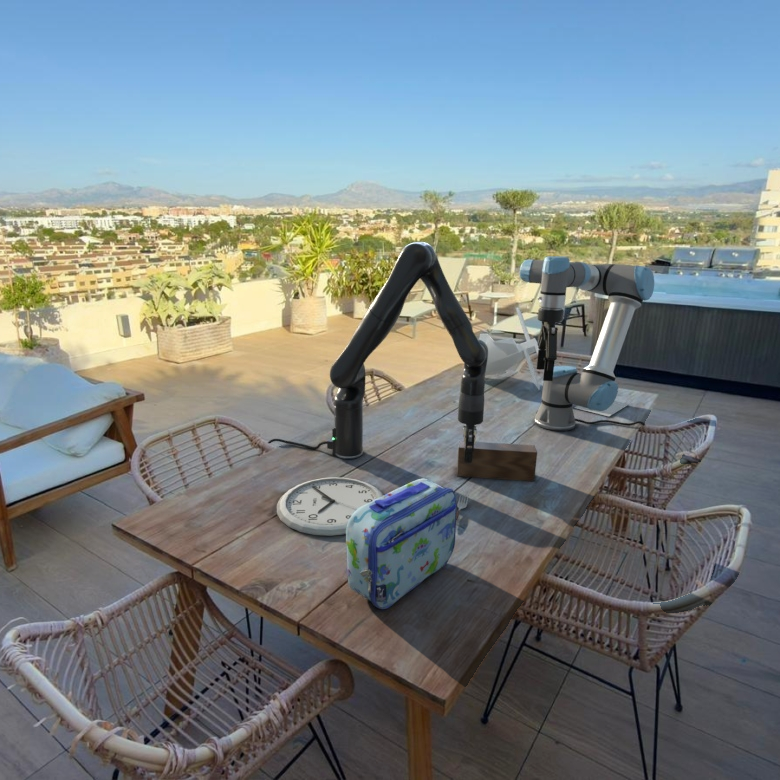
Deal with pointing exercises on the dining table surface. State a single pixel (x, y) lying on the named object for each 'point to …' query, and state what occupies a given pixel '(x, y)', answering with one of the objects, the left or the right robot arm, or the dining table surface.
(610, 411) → the grey wooden board
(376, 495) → the wall clock
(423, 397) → the dining table surface
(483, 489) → the dining table surface
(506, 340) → the white plastic object
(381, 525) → the lunch box
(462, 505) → the fork
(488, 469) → the bar
